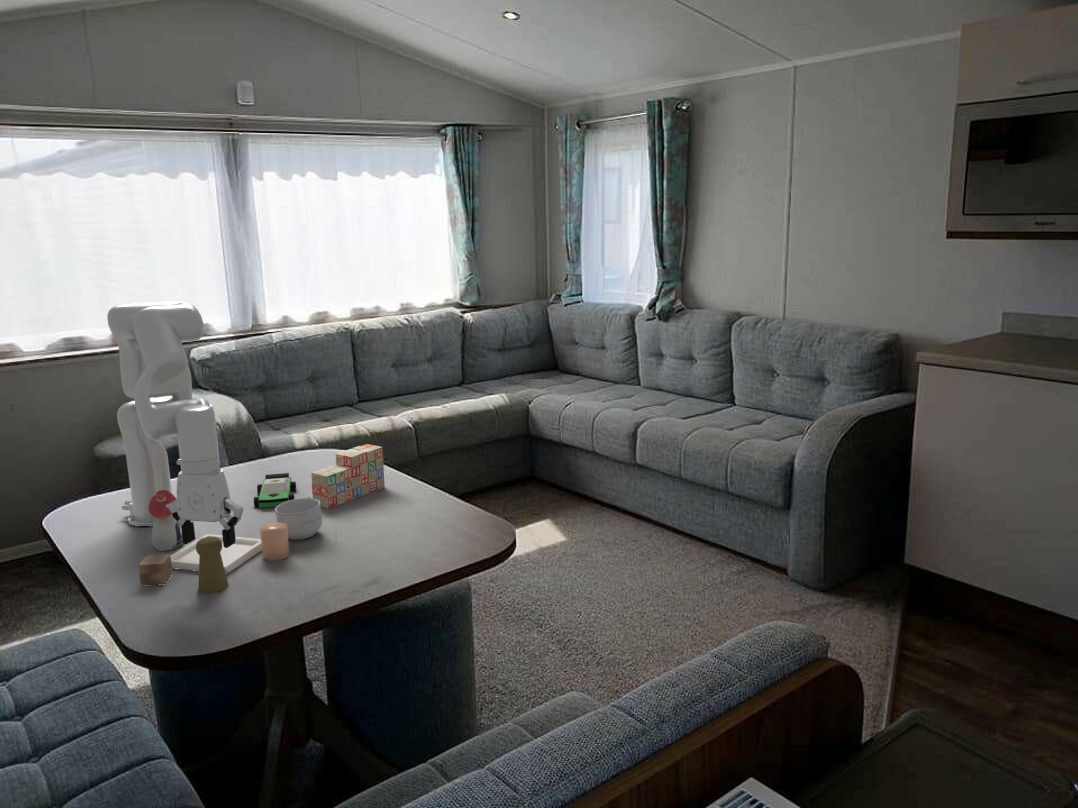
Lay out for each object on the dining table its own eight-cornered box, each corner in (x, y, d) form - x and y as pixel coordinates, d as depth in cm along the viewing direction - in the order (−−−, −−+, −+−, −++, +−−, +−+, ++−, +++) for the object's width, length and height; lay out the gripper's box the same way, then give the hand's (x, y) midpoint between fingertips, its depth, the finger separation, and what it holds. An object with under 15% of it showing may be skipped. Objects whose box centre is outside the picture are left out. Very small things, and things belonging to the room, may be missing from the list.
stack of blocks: (328, 509, 225) (325, 465, 222) (312, 505, 228) (309, 461, 225) (385, 487, 242) (382, 446, 239) (369, 483, 245) (367, 443, 243)
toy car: (253, 511, 224) (252, 493, 223) (259, 488, 242) (258, 472, 241) (294, 508, 227) (292, 490, 225) (296, 485, 245) (295, 469, 244)
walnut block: (141, 586, 180) (138, 565, 179) (149, 576, 185) (146, 555, 183) (165, 585, 180) (162, 563, 179) (172, 575, 185) (170, 554, 184)
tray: (163, 567, 189) (162, 560, 188) (207, 540, 204) (207, 533, 203) (226, 574, 185) (225, 567, 184) (266, 546, 200) (265, 539, 199)
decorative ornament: (173, 554, 196) (166, 493, 193) (145, 554, 196) (137, 493, 193) (190, 538, 205) (183, 480, 202) (163, 538, 205) (156, 480, 202)
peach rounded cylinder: (257, 559, 193) (254, 530, 191) (271, 549, 198) (269, 521, 197) (280, 561, 191) (278, 533, 190) (294, 551, 197) (292, 523, 195)
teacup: (310, 545, 201) (308, 513, 199) (269, 542, 203) (266, 510, 201) (335, 524, 214) (333, 494, 212) (296, 521, 216) (294, 491, 214)
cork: (203, 581, 182) (197, 533, 179) (231, 580, 182) (226, 532, 180) (194, 594, 176) (188, 545, 173) (224, 592, 176) (218, 543, 174)
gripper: (152, 468, 171) (162, 547, 175) (226, 473, 167) (235, 553, 171) (176, 458, 178) (185, 534, 182) (248, 462, 174) (256, 540, 178)
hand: (209, 543), depth 176 cm, fingers open, 9 cm apart
